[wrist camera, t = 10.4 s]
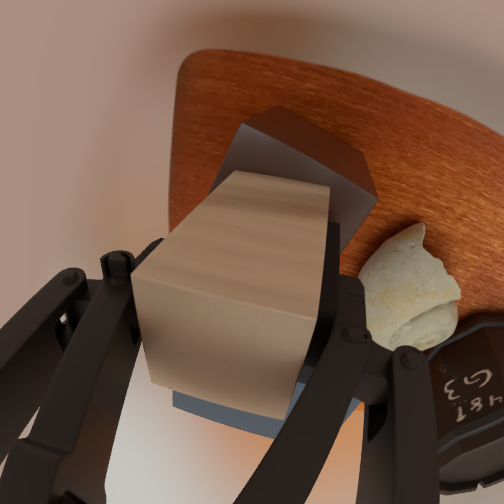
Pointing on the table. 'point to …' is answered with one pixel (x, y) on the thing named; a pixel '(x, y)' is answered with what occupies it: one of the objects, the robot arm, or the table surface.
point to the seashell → (408, 293)
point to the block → (236, 293)
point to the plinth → (304, 163)
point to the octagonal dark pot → (469, 403)
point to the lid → (244, 412)
